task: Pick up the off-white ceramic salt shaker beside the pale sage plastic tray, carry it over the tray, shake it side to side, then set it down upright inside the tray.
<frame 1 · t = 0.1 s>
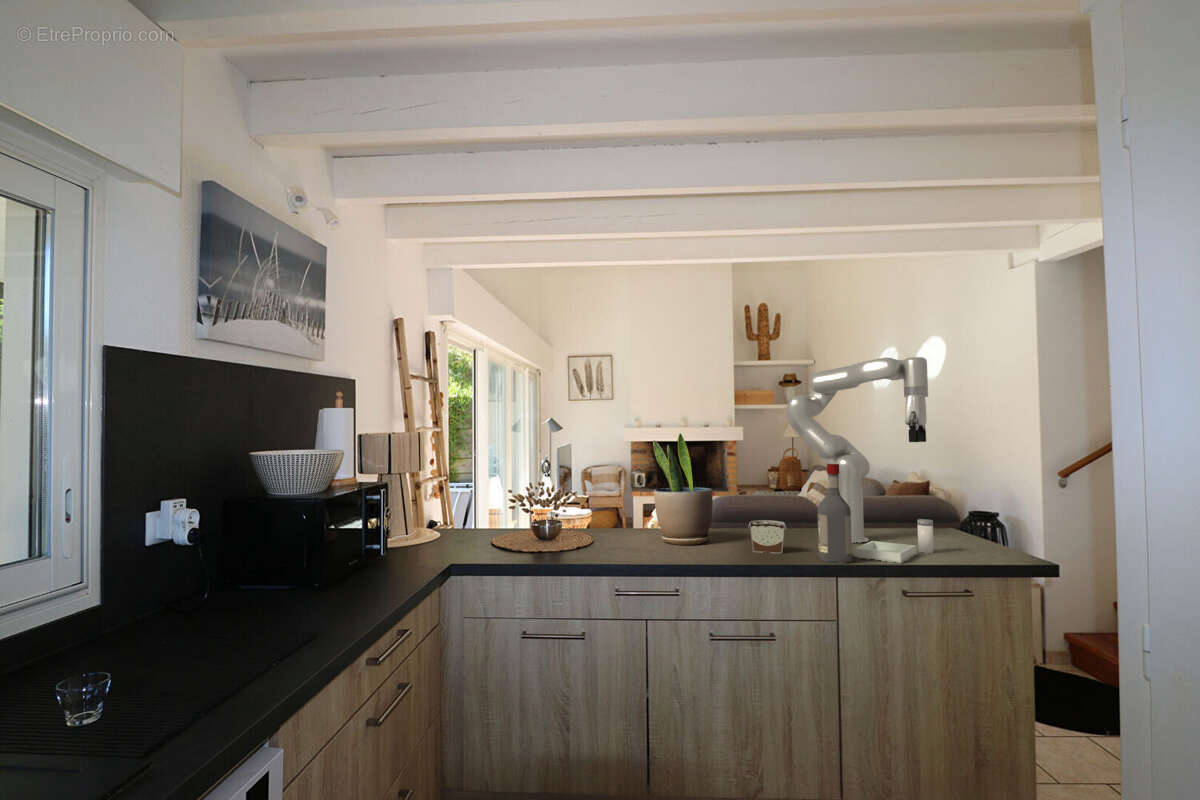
hand: (917, 442, 217), 37 cm above the counter, tool pointing down, fingers open, 9 cm apart
shaker: (926, 552, 209), on the counter
liquor: (835, 561, 195), on the counter
tray: (885, 556, 202), on the counter
potted plant: (683, 542, 230), on the counter
food container: (768, 551, 211), on the counter
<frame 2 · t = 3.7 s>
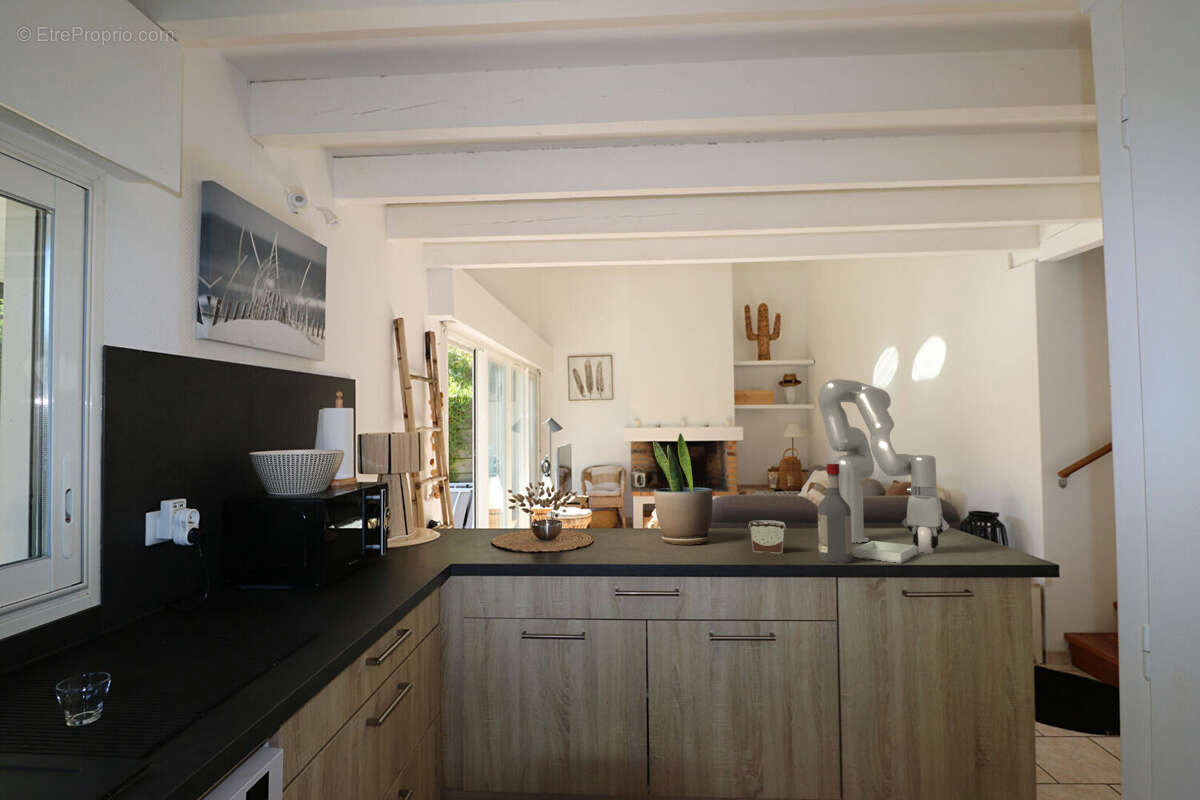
hand: (925, 546, 209), 2 cm above the counter, tool pointing down, fingers closed on shaker, 4 cm apart
shaker: (925, 552, 209), on the counter, touching gripper
everything else where it was.
when the fingers open (4 cm above the counter, at t = 11.2 s): shaker drops 1 cm, resting on tray.
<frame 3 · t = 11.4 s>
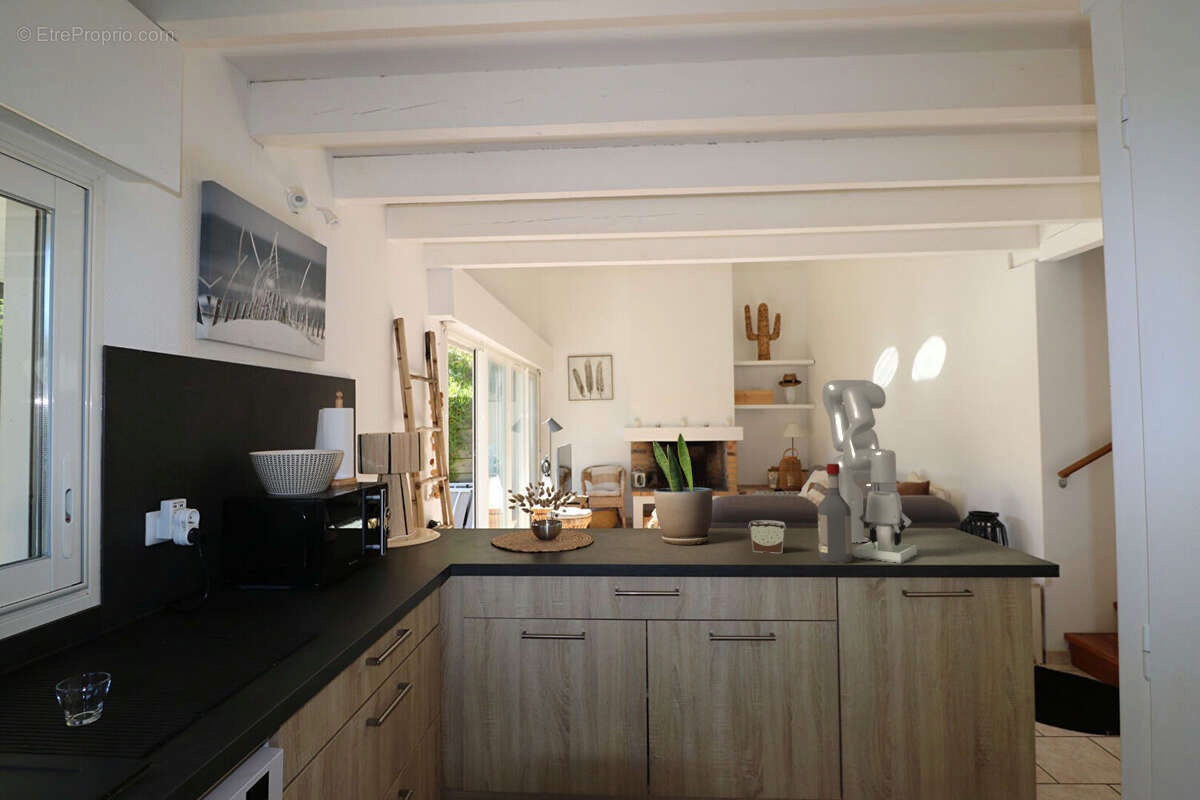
hand: (885, 543, 202), 4 cm above the counter, tool pointing down, fingers open, 6 cm apart
shaker: (885, 553, 202), point 1 cm above the counter, touching tray
everything else where it was.
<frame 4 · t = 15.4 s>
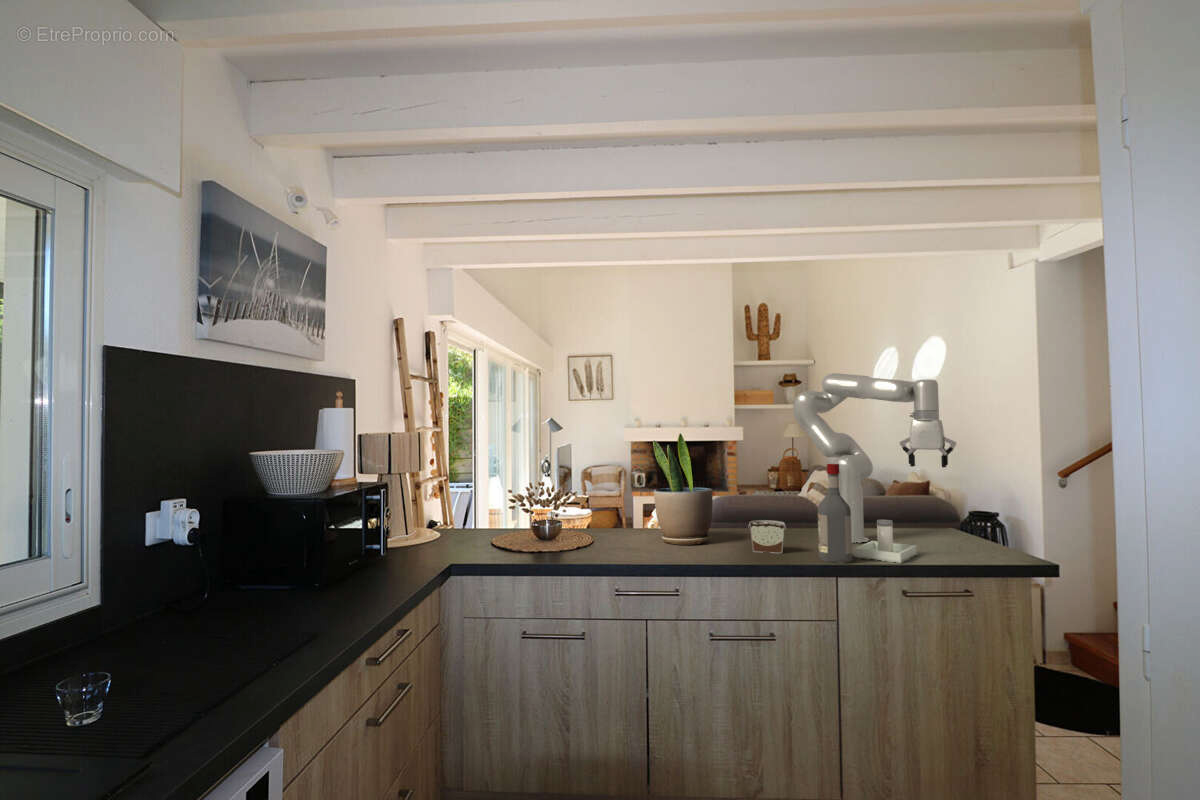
hand: (928, 466, 211), 28 cm above the counter, tool pointing down, fingers open, 9 cm apart
nothing on the counter moved.
at the end: shaker inside the target area on the tray (0.0 cm from its centre), point 0.8 cm above the tray's base; shaker tilted 0°; the gripper is holding nothing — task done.
